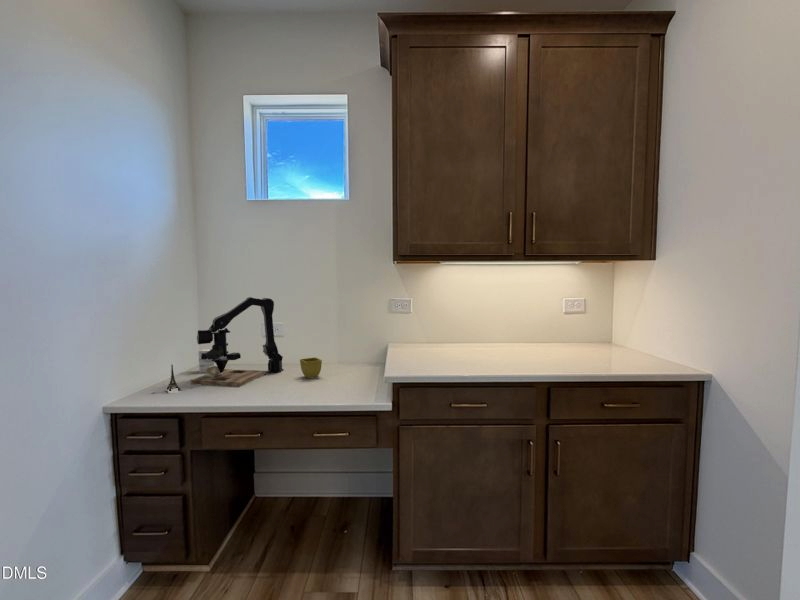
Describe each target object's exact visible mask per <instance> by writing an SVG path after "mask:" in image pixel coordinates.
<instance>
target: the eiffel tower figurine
mask: <svg viewBox="0 0 800 600" xmlns="http://www.w3.org/2000/svg"><path fill="white" fill-rule="evenodd" d="M170 366H171V371H170V372H171V373H170V375H171V376H170V380H169V381H170V382H169V383H168V386H167V387H166V389H169V391H171V389H174V388H178V390H179V391H182V389H181V388H180V387H179V385H178V383H176V382H177V381H176V378H175V375H174V365H173V364H171V365H170Z"/></svg>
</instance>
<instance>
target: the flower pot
mask: <svg viewBox="0 0 800 600" xmlns="http://www.w3.org/2000/svg"><path fill="white" fill-rule="evenodd" d="M299 362H300V369H301V372H302V375H303V376H304V377H306V379H311V378H312V377H313V378H318V376H319V375H320V374H321V370H322V364H323V363H322V362H323V359H320V358H318V357H315V356H314V357H307V358H300V359H299Z"/></svg>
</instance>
